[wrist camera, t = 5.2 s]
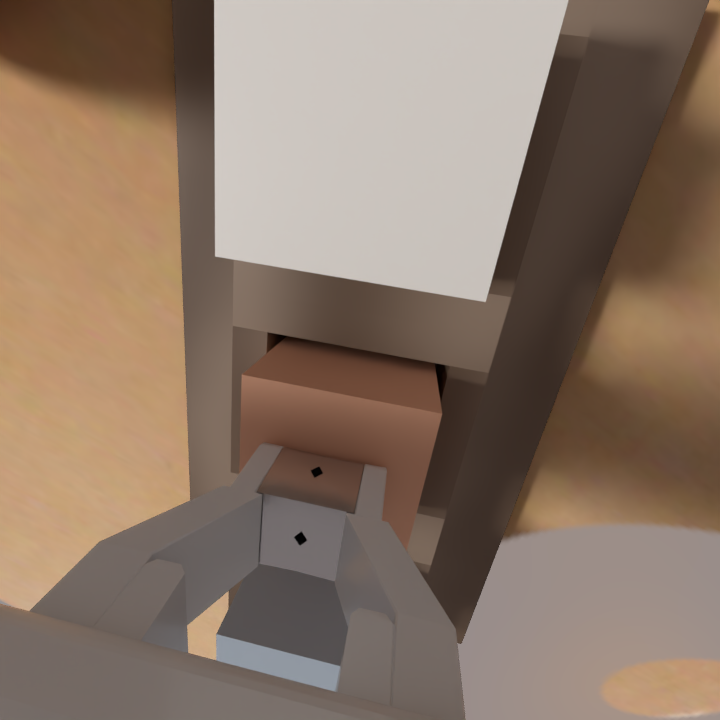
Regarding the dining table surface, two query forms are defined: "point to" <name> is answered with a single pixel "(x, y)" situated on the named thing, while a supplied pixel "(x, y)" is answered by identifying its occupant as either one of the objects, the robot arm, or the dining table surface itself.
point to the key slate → (285, 627)
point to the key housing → (435, 311)
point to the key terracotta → (347, 414)
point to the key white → (376, 134)
